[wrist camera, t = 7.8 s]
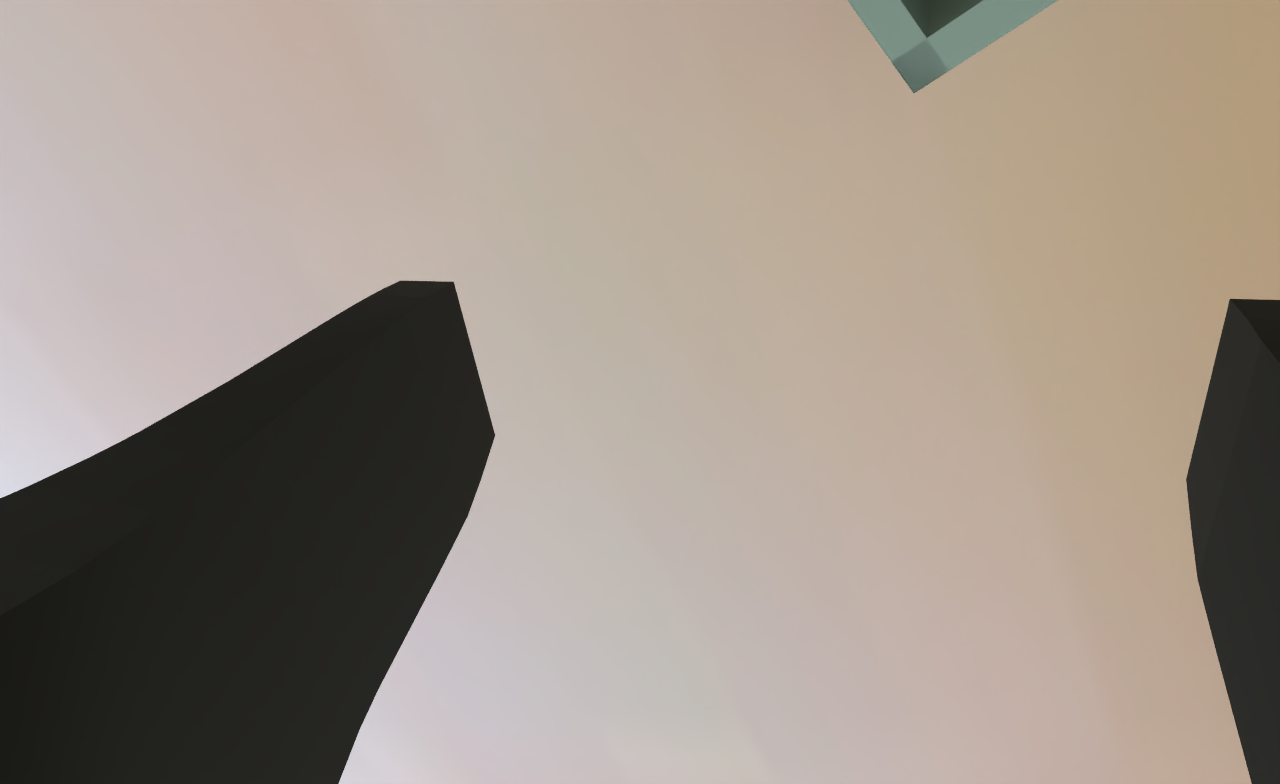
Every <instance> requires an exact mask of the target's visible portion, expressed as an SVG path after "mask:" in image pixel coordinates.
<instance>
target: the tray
mask: <svg viewBox="0 0 1280 784" xmlns="http://www.w3.org/2000/svg"><path fill="white" fill-rule="evenodd" d="M1056 1H1058V0H848V2H849V3H850V4H851V6H852V7H853V9H854V10H855V11H856V13H857V14H858V16H859V17H860V18H861V20H862V21H863V23H864V24H865V25H866V27H867V28H868V30H869V31H870V32H871V34H872V35H873V37H874V38H875V40H876V41H877V42H878V44H879V45H880V47H881V48H882V49H883V51H884V52H885V54H886V55H887V56H888V58H889V59H890V61H891V62H892V63H893V65H894V66H895V68H896V69H897V70H898V72H899V73H900V75H901V76H902V77H903V79H904V80H905V82H906V83H907V84H908V86H909V87H910V89H911V90H912V91H913V93H915V92H917V91H918V90H920V89H921V88H923V87H925V86H926V85H928V84H929V83H931V82H932V81H934V80H935V79H937V78H939V77H940V76H942V75H943V74H945V73H946V72H948V71H949V70H951V69H952V68H954V67H956V66H957V65H959V64H960V63H962V62H963V61H965V60H966V59H968V58H969V57H971V56H973V55H974V54H976V53H977V52H979V51H980V50H982V49H983V48H985V47H987V46H988V45H990V44H991V43H993V42H994V41H996V40H997V39H999V38H1000V37H1002V36H1004V35H1005V34H1007V33H1008V32H1010V31H1011V30H1013V29H1014V28H1016V27H1018V26H1019V25H1021V24H1022V23H1024V22H1025V21H1027V20H1028V19H1030V18H1031V17H1033V16H1035V15H1036V14H1038V13H1039V12H1041V11H1042V10H1044V9H1045V8H1047V7H1048V6H1050V5H1052V4H1053V3H1055V2H1056Z"/></svg>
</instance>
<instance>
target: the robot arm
mask: <svg viewBox="0 0 1280 784" xmlns="http://www.w3.org/2000/svg"><path fill="white" fill-rule="evenodd" d="M494 437H495V433H494V430H493V426H492V422H491V419H490V415H489V411H488V407H487V404H486V400H485V396H484V393H483V389H482V385H481V382H480V378H479V374H478V370H477V367H476V363H475V359H474V356H473V352H472V348H471V345H470V341H469V337H468V333H467V330H466V326H465V322H464V319H463V315H462V311H461V308H460V304H459V300H458V296H457V293H456V289H455V285H454V282H435V281H399V282H397V283H395V284H393V285H391V286H388V287H386V288H384V289H382V290H380V291H378V292H376V293H374V294H373V295H371V296H369V297H367V298H365V299H364V300H362V301H360V302H358V303H357V304H355V305H353V306H351V307H350V308H348V309H346V310H345V311H343V312H341V313H340V314H338V315H336V316H335V317H333V318H331V319H330V320H328V321H326V322H325V323H323V324H321V325H320V326H318V327H317V328H315V329H313V330H312V331H310V332H308V333H307V334H305V335H303V336H302V337H300V338H299V339H297V340H295V341H294V342H292V343H290V344H289V345H287V346H286V347H284V348H282V349H281V350H279V351H277V352H276V353H274V354H272V355H271V356H269V357H268V358H266V359H264V360H263V361H261V362H259V363H258V364H256V365H254V366H253V367H251V368H250V369H248V370H246V371H245V372H243V373H241V374H240V375H238V376H236V377H235V378H233V379H231V380H230V381H228V382H226V383H225V384H223V385H221V386H219V387H218V388H216V389H214V390H212V391H211V392H209V393H207V394H205V395H203V396H202V397H200V398H198V399H196V400H195V401H193V402H191V403H189V404H188V405H186V406H184V407H182V408H181V409H179V410H177V411H175V412H174V413H172V414H170V415H168V416H167V417H165V418H163V419H161V420H159V421H158V422H156V423H154V424H152V425H151V426H149V427H147V428H145V429H144V430H142V431H140V432H138V433H136V434H134V435H132V436H131V437H129V438H127V439H125V440H123V441H121V442H119V443H117V444H115V445H113V446H111V447H109V448H107V449H105V450H103V451H101V452H99V453H97V454H95V455H93V456H91V457H89V458H88V459H85V460H83V461H81V462H79V463H77V464H75V465H73V466H71V467H68V468H66V469H64V470H62V471H60V472H58V473H56V474H54V475H51V476H49V477H47V478H45V479H43V480H41V481H39V482H37V483H34V484H32V485H30V486H28V487H26V488H23V489H21V490H19V491H17V492H14V493H12V494H10V495H7V496H5V497H2V498H0V784H338V783H339V781H340V778H341V775H342V773H343V770H344V768H345V765H346V763H347V760H348V758H349V755H350V752H351V750H352V747H353V745H354V742H355V740H356V737H357V734H358V732H359V730H360V727H361V725H362V723H363V721H364V719H365V717H366V714H367V712H368V710H369V708H370V706H371V704H372V702H373V699H374V697H375V695H376V693H377V691H378V689H379V687H380V685H381V683H382V681H383V679H384V677H385V675H386V673H387V672H388V670H389V668H390V666H391V664H392V662H393V660H394V658H395V656H396V654H397V652H398V650H399V649H400V647H401V645H402V643H403V641H404V639H405V637H406V635H407V633H408V631H409V629H410V627H411V626H412V624H413V622H414V620H415V618H416V616H417V614H418V612H419V610H420V608H421V606H422V605H423V603H424V601H425V599H426V597H427V595H428V593H429V591H430V589H431V587H432V585H433V583H434V582H435V580H436V578H437V576H438V574H439V572H440V570H441V568H442V566H443V564H444V562H445V560H446V558H447V556H448V554H449V552H450V550H451V548H452V546H453V544H454V542H455V540H456V538H457V536H458V534H459V532H460V530H461V528H462V526H463V524H464V522H465V520H466V518H467V516H468V513H469V511H470V508H471V505H472V502H473V500H474V497H475V494H476V492H477V489H478V486H479V483H480V481H481V478H482V474H483V471H484V468H485V465H486V462H487V459H488V456H489V453H490V450H491V446H492V443H493V440H494ZM1186 481H1187V491H1188V500H1189V510H1190V520H1191V529H1192V538H1193V546H1194V554H1195V562H1196V569H1197V577H1198V582H1199V586H1200V590H1201V594H1202V598H1203V602H1204V606H1205V610H1206V613H1207V617H1208V621H1209V625H1210V629H1211V633H1212V636H1213V640H1214V644H1215V648H1216V652H1217V656H1218V659H1219V663H1220V667H1221V671H1222V674H1223V678H1224V682H1225V685H1226V689H1227V693H1228V697H1229V700H1230V704H1231V708H1232V711H1233V715H1234V719H1235V723H1236V726H1237V730H1238V734H1239V737H1240V741H1241V745H1242V749H1243V752H1244V756H1245V760H1246V764H1247V767H1248V771H1249V775H1250V778H1251V782H1252V784H1280V300H1252V299H1230V301H1229V305H1228V309H1227V313H1226V318H1225V322H1224V326H1223V330H1222V334H1221V338H1220V342H1219V347H1218V351H1217V355H1216V359H1215V363H1214V367H1213V371H1212V375H1211V380H1210V384H1209V388H1208V392H1207V396H1206V400H1205V404H1204V408H1203V413H1202V417H1201V421H1200V425H1199V429H1198V433H1197V437H1196V441H1195V446H1194V450H1193V454H1192V458H1191V462H1190V466H1189V470H1188V475H1187V479H1186Z"/></svg>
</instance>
